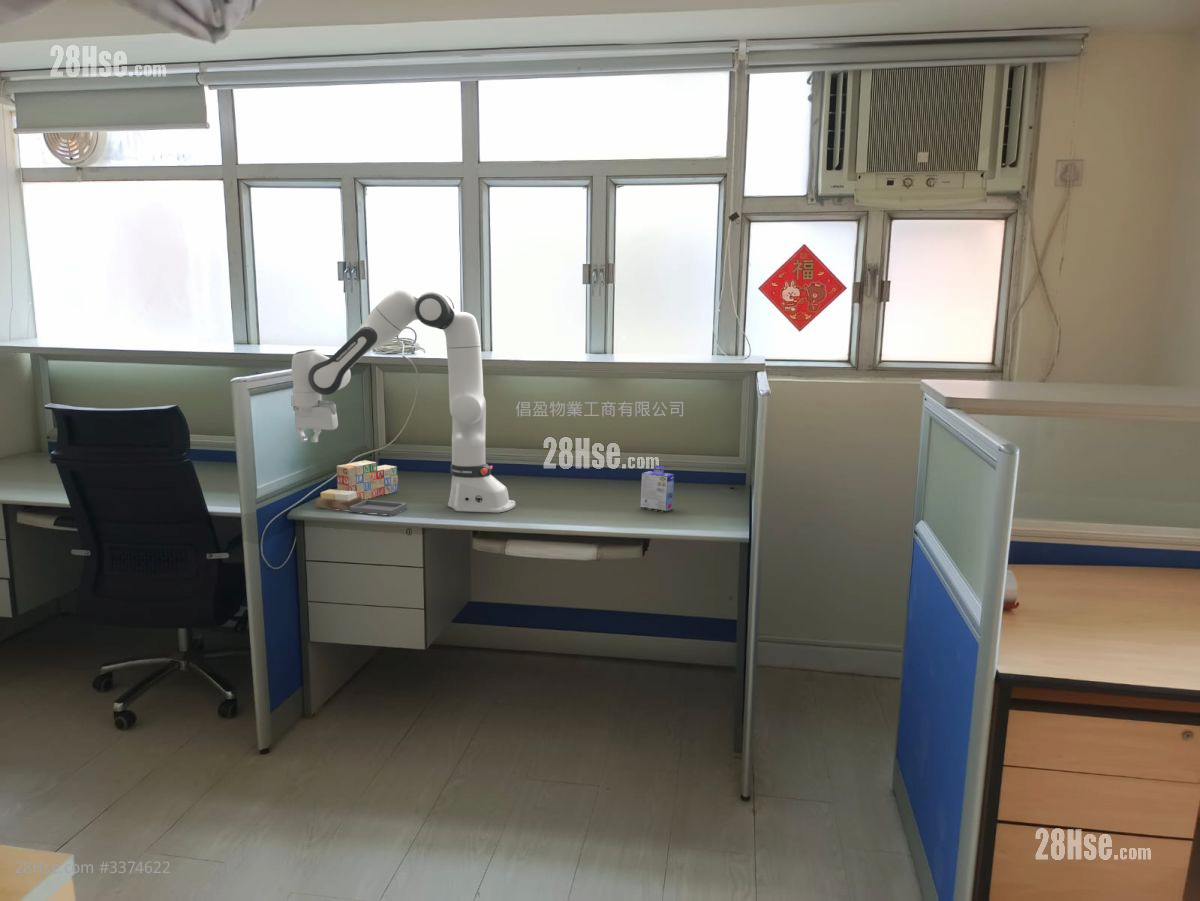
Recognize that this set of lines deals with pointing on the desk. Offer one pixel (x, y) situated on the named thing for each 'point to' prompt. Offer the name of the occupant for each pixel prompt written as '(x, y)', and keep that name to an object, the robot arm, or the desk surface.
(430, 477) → the desk surface
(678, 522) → the desk surface
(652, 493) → the ink cartridge box
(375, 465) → the stack of blocks
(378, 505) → the tray
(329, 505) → the walnut ledge
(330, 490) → the ochre tile
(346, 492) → the cream tile
